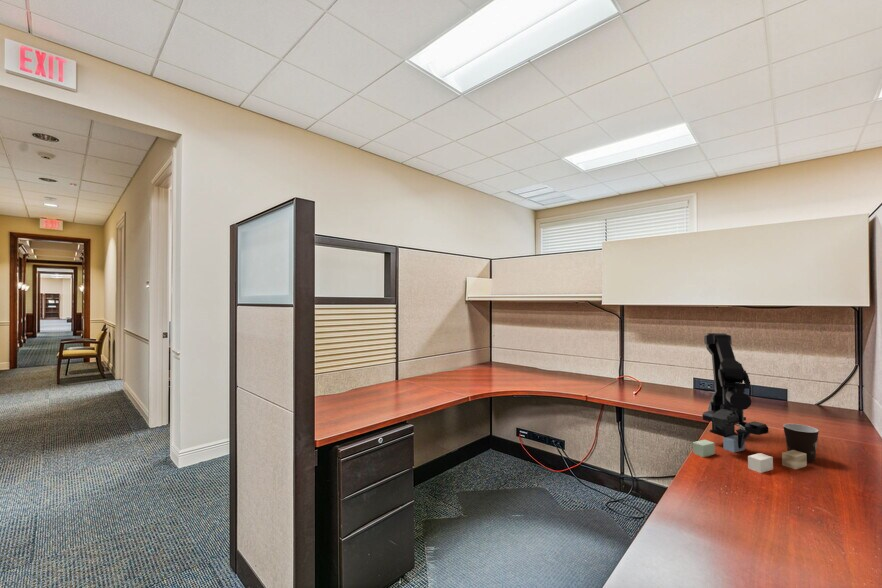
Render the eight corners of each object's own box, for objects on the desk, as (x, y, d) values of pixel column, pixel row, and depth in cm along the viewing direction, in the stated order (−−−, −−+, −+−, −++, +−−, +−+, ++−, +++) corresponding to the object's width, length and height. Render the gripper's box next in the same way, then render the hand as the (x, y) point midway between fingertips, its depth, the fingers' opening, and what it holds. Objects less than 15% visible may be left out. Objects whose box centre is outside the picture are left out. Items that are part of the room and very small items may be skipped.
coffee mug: (807, 465, 124) (806, 433, 124) (777, 454, 132) (776, 425, 132) (832, 460, 127) (831, 429, 127) (802, 450, 135) (801, 421, 135)
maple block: (782, 465, 124) (781, 452, 124) (793, 462, 127) (793, 449, 127) (795, 469, 121) (795, 457, 121) (806, 466, 123) (806, 453, 123)
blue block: (723, 449, 138) (723, 437, 138) (734, 446, 140) (734, 435, 140) (734, 452, 135) (733, 441, 135) (745, 449, 137) (744, 438, 137)
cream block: (748, 468, 123) (747, 456, 123) (760, 465, 125) (760, 452, 125) (760, 473, 119) (760, 460, 119) (773, 469, 122) (772, 457, 122)
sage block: (693, 453, 135) (692, 442, 135) (704, 450, 137) (704, 439, 137) (703, 457, 132) (702, 445, 132) (714, 454, 134) (714, 442, 134)
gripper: (691, 398, 143) (692, 441, 143) (747, 412, 126) (749, 460, 126) (711, 395, 147) (712, 436, 147) (768, 407, 130) (770, 454, 130)
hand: (734, 446), depth 138 cm, fingers closed on blue block, 3 cm apart
